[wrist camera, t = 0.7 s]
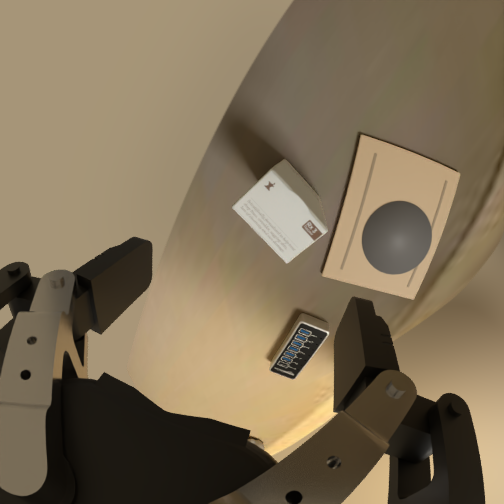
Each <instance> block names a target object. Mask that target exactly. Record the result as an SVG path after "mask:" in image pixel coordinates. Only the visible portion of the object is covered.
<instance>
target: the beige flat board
mask: <svg viewBox="0 0 504 504" xmlns="http://www.w3.org/2000/svg"><path fill="white" fill-rule="evenodd" d="M459 177H460V173H458V172H456V171H454V170H452V169H450V168H448V167H445V166H443V165H441V164H439V163H436V162H434V161H432V160H430V159H427V158H425V157H422V156H420V155H418V154H415V153H413V152H410V151H407V150H405V149H402V148H400V147H397V146H394V145H391V144H389V143H386V142H383V141H380V140H377V139H374V138H371V137H368V136H365V135H360V139H359V143H358V148H357V152H356V156H355V161H354V165H353V169H352V173H351V177H350V181H349V184H348V188H347V192H346V196H345V199H344V203H343V207H342V210H341V214H340V217H339V221H338V224H337V227H336V231H335V234H334V237H333V241H332V244H331V247H330V250H329V253H328V257H327V260H326V263H325V266H324V269H323V272H322V276H324V277H328V278H332V279H336V280H339V281H343V282H347V283H351V284H355V285H359V286H362V287H366V288H370V289H374V290H378V291H382V292H386V293H390V294H393V295H397V296H401V297H405V298H409V299H413V300H414V297H415V295H416V293H417V291H418V289H419V287H420V285H421V283H422V281H423V279H424V276H425V274H426V272H427V270H428V267H429V265H430V263H431V260H432V258H433V255H434V253H435V250H436V248H437V245H438V243H439V240H440V238H441V235H442V232H443V229H444V227H445V224H446V221H447V218H448V215H449V212H450V209H451V205H452V202H453V199H454V196H455V192H456V189H457V185H458V181H459Z"/></svg>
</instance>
